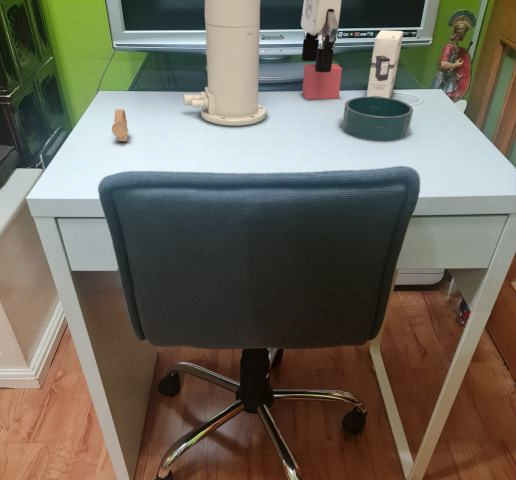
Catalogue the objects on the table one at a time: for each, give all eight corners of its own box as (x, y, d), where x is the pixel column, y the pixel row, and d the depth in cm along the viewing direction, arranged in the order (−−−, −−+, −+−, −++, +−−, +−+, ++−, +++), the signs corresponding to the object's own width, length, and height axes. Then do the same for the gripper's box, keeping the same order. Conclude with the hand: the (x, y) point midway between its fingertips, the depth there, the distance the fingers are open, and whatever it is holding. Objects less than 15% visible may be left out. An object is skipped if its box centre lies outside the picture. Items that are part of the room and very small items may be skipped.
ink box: (371, 89, 115) (380, 28, 107) (393, 91, 114) (404, 30, 106) (365, 99, 109) (374, 36, 101) (388, 102, 108) (400, 38, 100)
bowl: (355, 142, 90) (358, 119, 87) (333, 119, 99) (336, 97, 96) (419, 139, 92) (424, 115, 89) (392, 116, 101) (396, 95, 98)
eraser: (307, 99, 108) (309, 69, 104) (302, 94, 111) (304, 64, 107) (338, 98, 109) (342, 68, 105) (332, 92, 112) (336, 63, 108)
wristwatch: (114, 145, 86) (109, 114, 83) (117, 135, 90) (113, 105, 86) (130, 145, 86) (125, 114, 83) (133, 135, 90) (129, 105, 87)
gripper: (296, -42, 100) (287, 56, 111) (322, -35, 87) (310, 75, 98) (332, -40, 101) (320, 57, 112) (363, -32, 88) (346, 76, 99)
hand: (315, 66), depth 105 cm, fingers open, 9 cm apart
